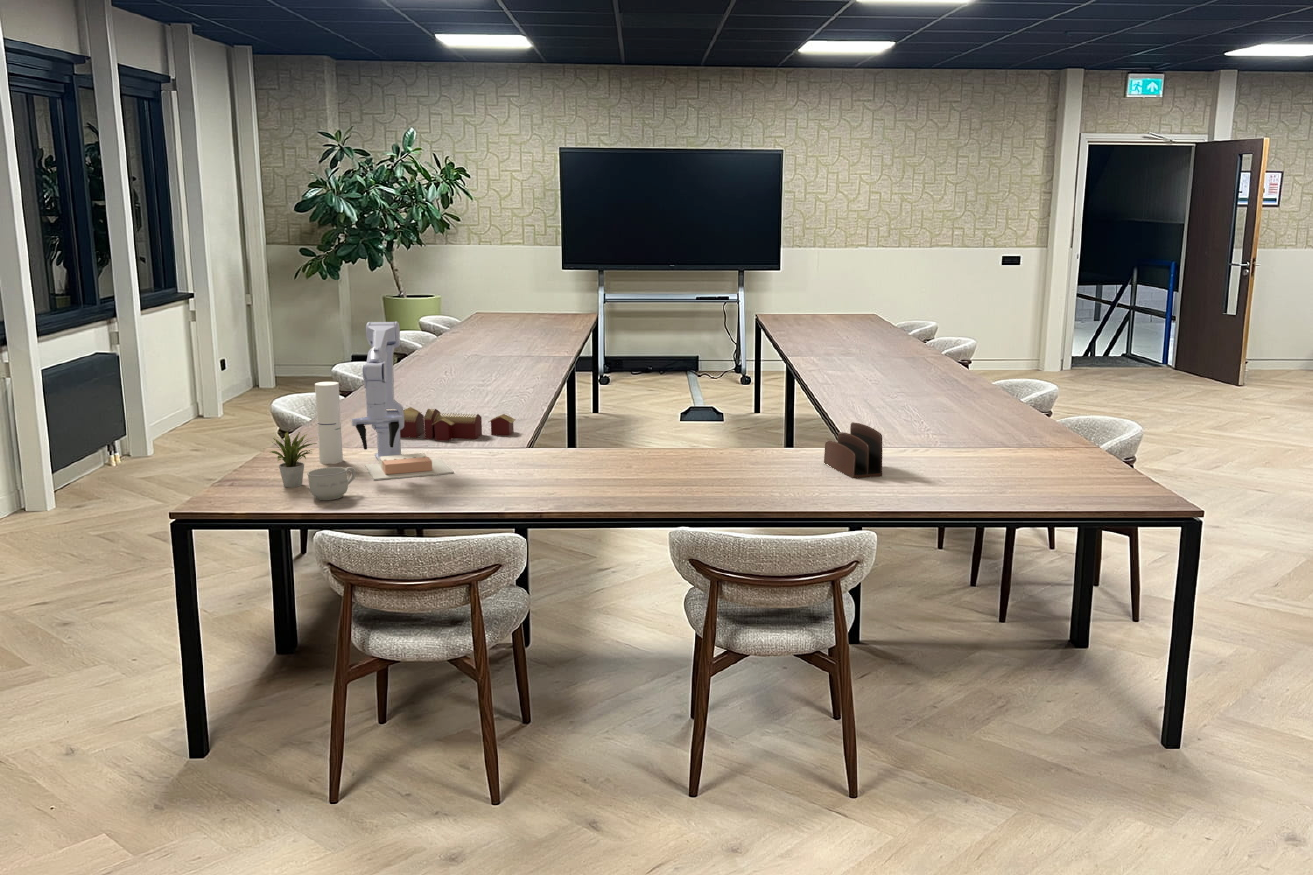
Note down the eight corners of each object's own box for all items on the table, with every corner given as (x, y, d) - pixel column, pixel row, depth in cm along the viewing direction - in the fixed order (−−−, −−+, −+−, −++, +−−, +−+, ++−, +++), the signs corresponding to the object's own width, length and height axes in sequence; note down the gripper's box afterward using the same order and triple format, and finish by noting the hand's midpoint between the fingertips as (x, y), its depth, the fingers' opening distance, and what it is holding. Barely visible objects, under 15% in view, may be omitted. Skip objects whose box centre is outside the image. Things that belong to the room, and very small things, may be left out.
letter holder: (851, 462, 362) (853, 419, 359) (882, 477, 344) (884, 431, 341) (823, 464, 359) (824, 421, 356) (853, 479, 341) (855, 433, 338)
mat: (364, 466, 353) (364, 464, 353) (441, 459, 362) (441, 458, 362) (373, 480, 336) (373, 478, 336) (454, 473, 345) (454, 471, 345)
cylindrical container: (316, 460, 360) (311, 383, 355) (337, 457, 364) (333, 380, 359) (324, 464, 355) (319, 386, 349) (346, 461, 359) (342, 384, 353)
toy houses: (377, 439, 393) (375, 410, 390) (398, 427, 412) (396, 400, 410) (503, 443, 387) (503, 414, 385) (518, 431, 407) (518, 403, 405)
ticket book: (379, 466, 351) (379, 456, 351) (424, 462, 357) (424, 452, 356) (382, 470, 346) (382, 460, 345) (428, 466, 351) (428, 456, 351)
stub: (382, 470, 346) (382, 460, 345) (428, 466, 351) (428, 456, 350) (385, 474, 340) (385, 464, 340) (432, 470, 346) (431, 460, 345)
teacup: (316, 505, 310) (315, 476, 308) (303, 496, 318) (301, 468, 317) (365, 497, 318) (364, 469, 316) (351, 489, 327) (349, 462, 325)
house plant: (302, 494, 321) (298, 437, 317) (257, 491, 324) (253, 435, 320) (326, 481, 335) (323, 427, 331) (283, 479, 337) (279, 425, 334)
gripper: (353, 407, 329) (355, 452, 332) (403, 403, 334) (405, 448, 337) (349, 402, 335) (352, 447, 338) (399, 399, 341) (401, 443, 343)
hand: (378, 447), depth 338 cm, fingers open, 7 cm apart
